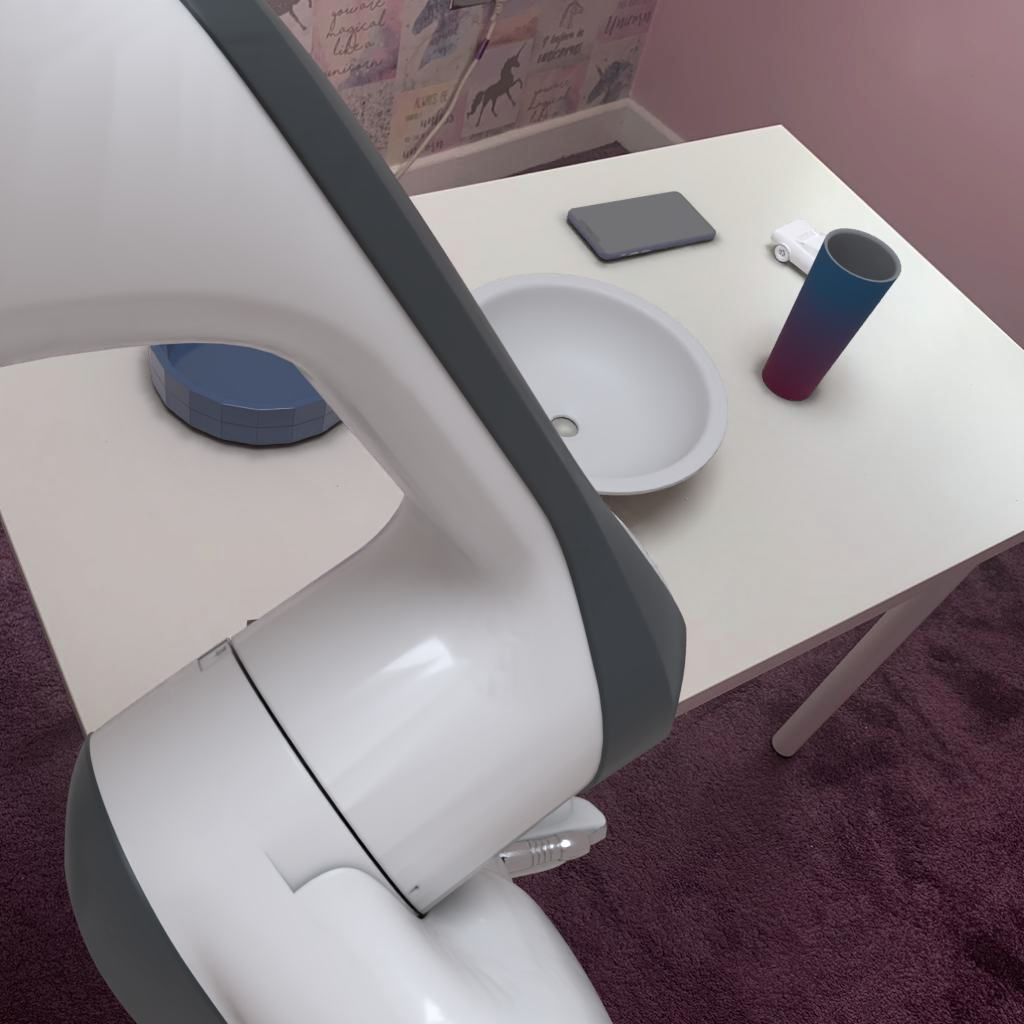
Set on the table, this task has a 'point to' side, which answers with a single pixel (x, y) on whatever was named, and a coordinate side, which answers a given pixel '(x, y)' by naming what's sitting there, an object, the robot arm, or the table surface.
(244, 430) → the bowl
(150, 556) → the table surface
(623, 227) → the smartphone
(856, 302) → the cup
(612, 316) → the white sink basin
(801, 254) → the toy car
